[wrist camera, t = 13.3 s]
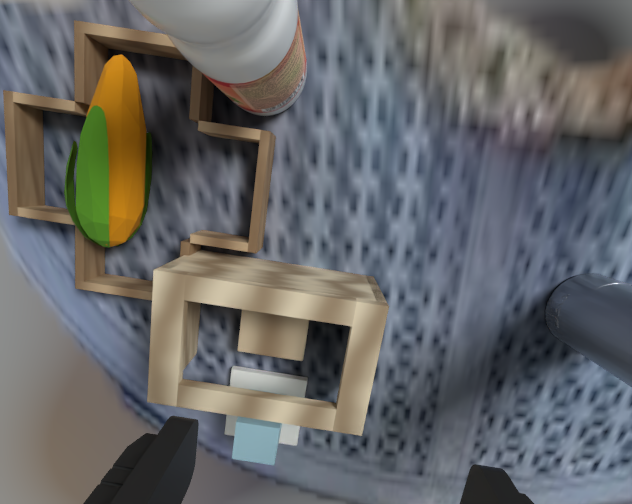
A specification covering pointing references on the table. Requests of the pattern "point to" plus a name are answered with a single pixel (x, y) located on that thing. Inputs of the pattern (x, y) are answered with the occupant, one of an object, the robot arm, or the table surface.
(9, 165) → the corn rack
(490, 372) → the table surface
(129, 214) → the corn
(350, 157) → the table surface
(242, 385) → the tile
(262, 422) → the block
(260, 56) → the fruit juice
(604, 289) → the robot arm
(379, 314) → the frame
